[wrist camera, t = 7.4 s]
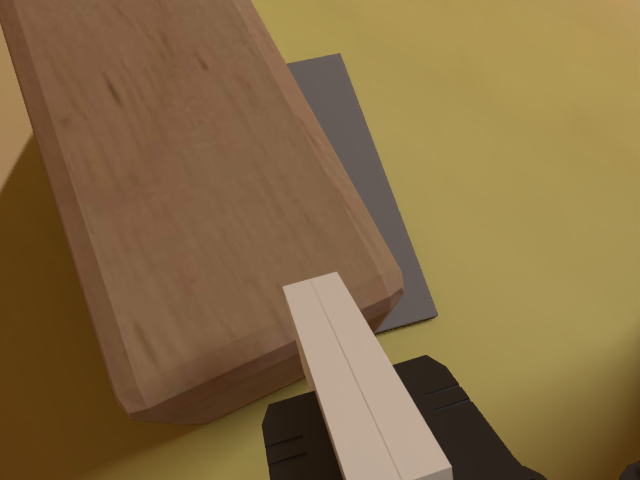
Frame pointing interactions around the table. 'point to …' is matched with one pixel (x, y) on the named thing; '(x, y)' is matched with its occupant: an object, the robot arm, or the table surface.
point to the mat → (364, 175)
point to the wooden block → (189, 195)
